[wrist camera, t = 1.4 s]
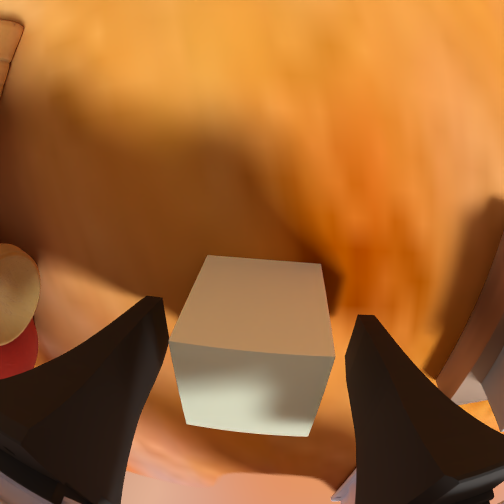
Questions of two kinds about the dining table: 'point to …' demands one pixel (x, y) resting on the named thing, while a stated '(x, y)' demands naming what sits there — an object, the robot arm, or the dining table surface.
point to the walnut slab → (477, 341)
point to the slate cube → (496, 389)
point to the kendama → (16, 266)
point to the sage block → (254, 346)
